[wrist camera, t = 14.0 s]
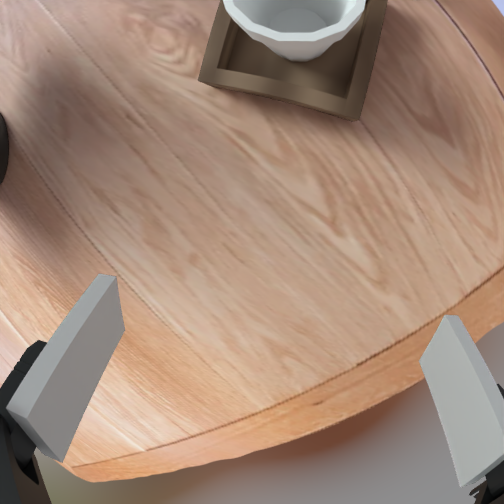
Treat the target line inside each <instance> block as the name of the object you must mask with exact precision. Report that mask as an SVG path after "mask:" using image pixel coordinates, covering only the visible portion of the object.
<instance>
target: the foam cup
mask: <svg viewBox="0 0 504 504" xmlns="http://www.w3.org/2000/svg"><path fill="white" fill-rule="evenodd" d="M223 2H224V6H225V9H226V11H227V12H228V13H229V15H230V16H231V18H232V19H233V20H234V21H235V22H236V23H237V24H238V25H239V26H240V27H241V28H242V29H243V30H244V31H245V32H246V33H247V34H248V35H249V36H250V37H251V38H252V39H254V40H257V41H259V42H262V43H263V44H264V45H266V46H267V47H268V48H270V49H271V50H272V51H273V52H275V53H276V54H277V55H279V56H281V57H283V58H285V59H288V60H290V61H300V62H307V61H309V60H312V59H314V58H317V57H319V56H321V55H322V54H323V53H324V52H325V51H326V50H327V49H328V48H329V47H330V46H331V45H332V44H333V43H334V42H336V41H339V40H341V39H342V38H343V37H344V36H345V35H346V34H347V33H348V32H349V30H350V29H351V28H352V27H353V26H354V25H355V24H356V23H357V22H358V21H359V19H360V17H361V15H362V13H363V11H364V7H365V2H366V0H223Z"/></svg>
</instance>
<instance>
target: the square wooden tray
mask: <svg viewBox="0 0 504 504" xmlns="http://www.w3.org/2000/svg"><path fill="white" fill-rule="evenodd" d="M387 1H388V0H366V2H365V7H364V11H363V13H362V15H361V17H360V19H359V21H358V22H357V23H356V24H355V25H354V26H353V27H352V28H351V29H350V30H349V32H348V33H347V34H346V35H345V36H344V37H343V38H342V39H341V40H339V41H336V42H334V43H333V44H332V45H331V46H330V47H329V48H328V49H327V50H326V51H325V52H324V53H323V54H322V55H321V56H319V57H317V58H314V59H312V60H309V61H307V62H300V61H290V60H288V59H285V58H283V57H281V56H279V55H277V54H276V53H275V52H273V51H272V50H271V49H270V48H268V47H267V46H266V45H264V44H263V43H262V42H259V41H257V40H254V39H252V38H251V37H250V36H249V35H248V34H247V33H246V32H245V31H244V30H243V29H242V28H241V27H240V26H239V25H238V24H237V23H236V22H235V21H234V20H233V19H232V18H231V16H230V15H229V13H228V12H227V11H226V9H225V6H224V2H223V0H221V1H220V4H219V7H218V10H217V13H216V17H215V20H214V23H213V27H212V30H211V34H210V37H209V41H208V44H207V48H206V51H205V55H204V59H203V63H202V66H201V70H200V74H199V78H198V81H200V82H202V83H205V84H207V85H209V86H212V87H218V88H224V89H229V90H234V91H239V92H244V93H249V94H254V95H258V96H263V97H267V98H271V99H275V100H280V101H284V102H287V103H291V104H295V105H299V106H303V107H306V108H310V109H313V110H317V111H320V112H324V113H327V114H330V115H333V116H337V117H340V118H343V119H346V120H349V121H357V120H359V118H360V115H361V111H362V107H363V104H364V100H365V96H366V92H367V88H368V84H369V80H370V76H371V72H372V68H373V64H374V60H375V56H376V52H377V47H378V43H379V38H380V34H381V29H382V25H383V20H384V15H385V11H386V6H387Z"/></svg>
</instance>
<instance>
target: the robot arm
mask: <svg viewBox="0 0 504 504" xmlns="http://www.w3.org/2000/svg"><path fill="white" fill-rule="evenodd" d="M7 162H8V136H7V130H6V126H5V123H4V120H3V118H2V116H1V114H0V184H1V182H2V180H3V178H4V175H5V172H6V168H7ZM124 331H125V327H124V322H123V316H122V311H121V305H120V298H119V292H118V285H117V278H116V276H110V275H104V274H98V276H97V277H96V278H95V279H94V281H93V282H92V283H91V284H90V286H89V287H88V288H87V290H86V291H85V292H84V293H83V295H82V296H81V297H80V299H79V300H78V301H77V303H76V304H75V305H74V307H73V308H72V309H71V311H70V312H69V313H68V315H67V316H66V317H65V319H64V320H63V322H62V323H61V324H60V326H59V327H58V328H57V330H56V331H55V333H54V334H53V336H52V337H51V338H50V340H49V341H48V343H46V342H43V341H40V340H38V341H37V342H35V343H34V344H33V345H31V346H30V347H28V348H27V350H26V351H25V352H24V354H23V355H22V357H21V358H20V361H19V362H17V364H16V365H15V367H14V370H12V371H11V373H10V374H9V376H8V377H7V379H6V380H5V382H4V383H3V385H2V387H1V388H0V504H52V503H51V501H50V498H49V495H48V493H47V490H46V487H45V484H44V481H43V479H42V475H41V473H40V469H39V466H38V463H37V460H36V457H35V455H34V451H35V448H36V447H37V448H38V449H39V450H40V451H41V452H42V453H43V454H44V455H46V456H48V457H50V458H53V459H55V460H57V461H59V462H62V463H63V460H64V458H65V455H66V453H67V451H68V448H69V446H70V444H71V441H72V439H73V437H74V434H75V432H76V430H77V428H78V425H79V423H80V421H81V419H82V417H83V414H84V412H85V410H86V408H87V406H88V403H89V401H90V399H91V397H92V395H93V393H94V391H95V389H96V387H97V385H98V382H99V380H100V378H101V376H102V374H103V372H104V370H105V368H106V366H107V364H108V362H109V360H110V358H111V356H112V354H113V352H114V350H115V348H116V346H117V344H118V343H119V341H120V339H121V337H122V335H123V333H124ZM419 363H420V365H421V368H422V370H423V373H424V376H425V378H426V381H427V383H428V386H429V389H430V391H431V394H432V397H433V400H434V402H435V405H436V408H437V411H438V414H439V417H440V420H441V423H442V426H443V429H444V433H445V436H446V439H447V442H448V445H449V449H450V452H451V456H452V459H453V463H454V466H455V470H456V473H457V477H458V481H459V485H460V487H463V486H467V485H470V484H473V483H475V482H477V481H478V480H479V479H481V478H482V477H484V476H486V481H484V482H483V483H482V484H480V485H479V486H477V487H476V488H474V489H473V490H472V491H471V492H470V494H469V495H473V494H474V493H476V492H477V491H479V493H477V494H476V495H475V496H474V498H476V501H475V503H474V504H504V389H503V388H502V387H501V386H500V385H499V384H496V382H495V380H494V378H493V377H492V375H491V373H490V371H489V369H488V367H487V365H486V363H485V361H484V360H483V358H482V356H481V354H480V352H479V350H478V349H477V347H476V345H475V343H474V342H473V340H472V338H471V336H470V335H469V333H468V331H467V330H466V328H465V326H464V325H463V323H462V321H461V320H460V318H459V316H457V315H444V317H443V319H442V321H441V323H440V325H439V327H438V328H437V330H436V332H435V334H434V336H433V338H432V339H431V341H430V343H429V345H428V346H427V348H426V350H425V352H424V353H423V355H422V357H421V358H420V360H419Z"/></svg>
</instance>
